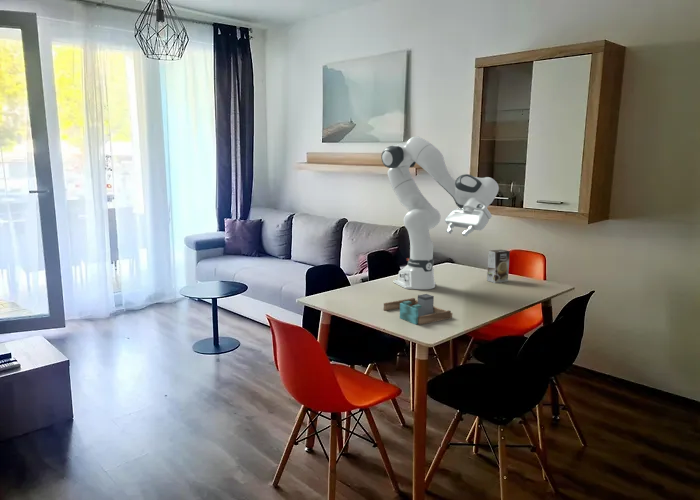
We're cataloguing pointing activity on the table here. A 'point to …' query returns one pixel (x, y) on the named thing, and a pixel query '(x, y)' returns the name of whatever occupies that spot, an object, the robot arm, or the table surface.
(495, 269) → the coffee box
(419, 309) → the tall grey block
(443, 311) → the frame
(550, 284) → the table surface
